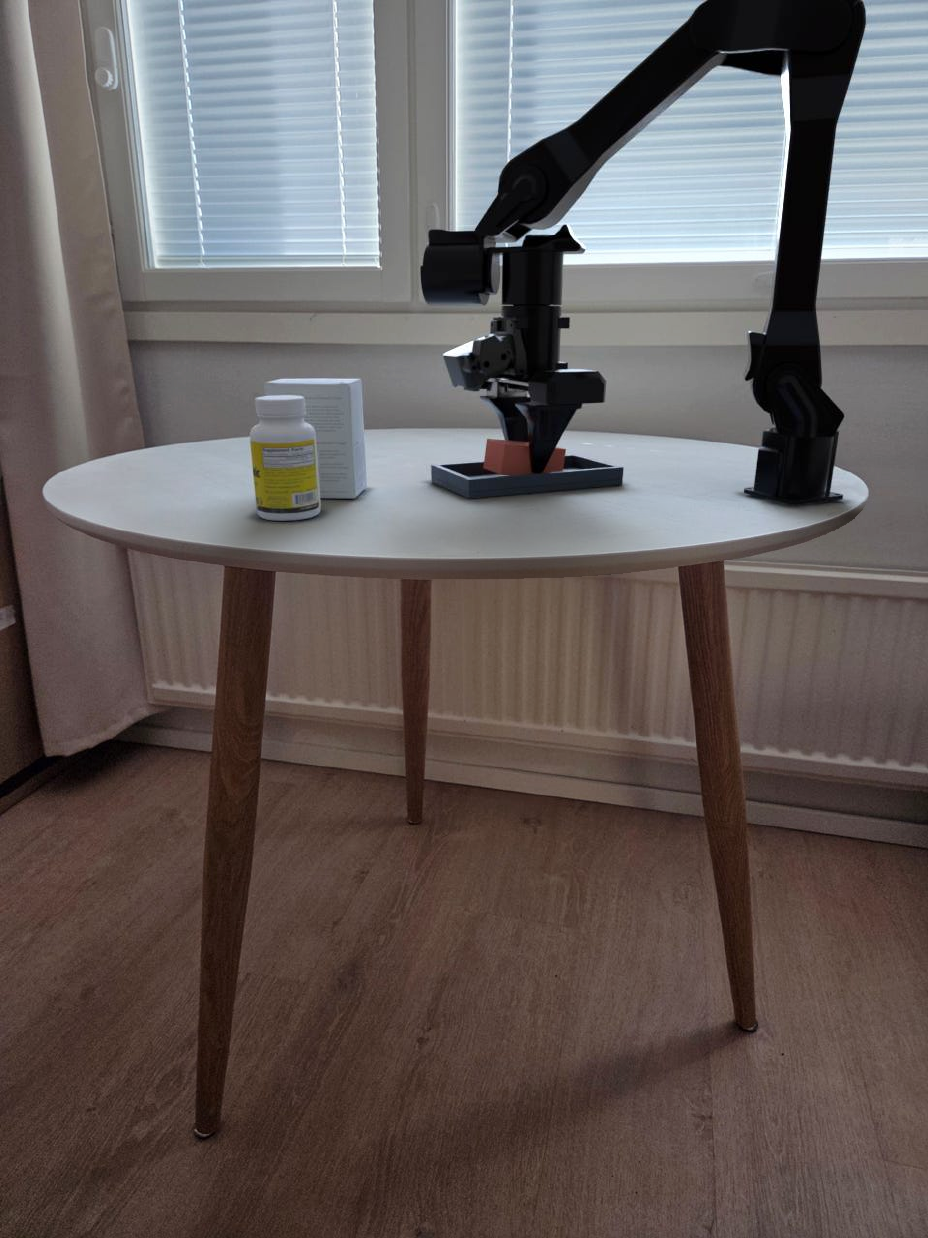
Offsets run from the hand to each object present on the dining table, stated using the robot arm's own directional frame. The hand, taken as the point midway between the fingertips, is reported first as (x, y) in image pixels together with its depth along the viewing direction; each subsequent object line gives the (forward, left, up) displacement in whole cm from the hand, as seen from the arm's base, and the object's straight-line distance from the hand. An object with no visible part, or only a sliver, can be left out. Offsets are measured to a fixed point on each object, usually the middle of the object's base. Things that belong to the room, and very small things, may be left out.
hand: (526, 469), depth 85 cm
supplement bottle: (+25, +4, -2) cm, 26 cm away
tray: (0, 0, -1) cm, 1 cm away
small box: (+20, -4, -2) cm, 21 cm away
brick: (0, 0, 0) cm, 1 cm away
